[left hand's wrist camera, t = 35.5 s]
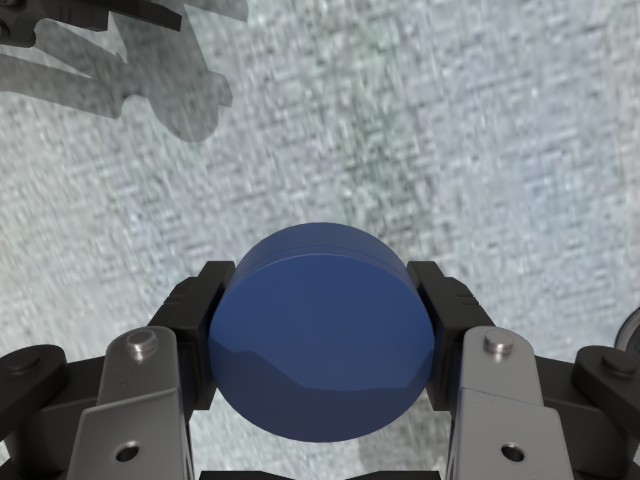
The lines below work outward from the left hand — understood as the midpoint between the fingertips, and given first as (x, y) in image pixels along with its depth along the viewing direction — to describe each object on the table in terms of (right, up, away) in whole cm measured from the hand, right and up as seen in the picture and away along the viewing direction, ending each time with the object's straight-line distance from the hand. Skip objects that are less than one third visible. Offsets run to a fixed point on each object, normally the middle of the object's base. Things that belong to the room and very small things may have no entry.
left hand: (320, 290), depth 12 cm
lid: (0, -1, -3) cm, 3 cm away
